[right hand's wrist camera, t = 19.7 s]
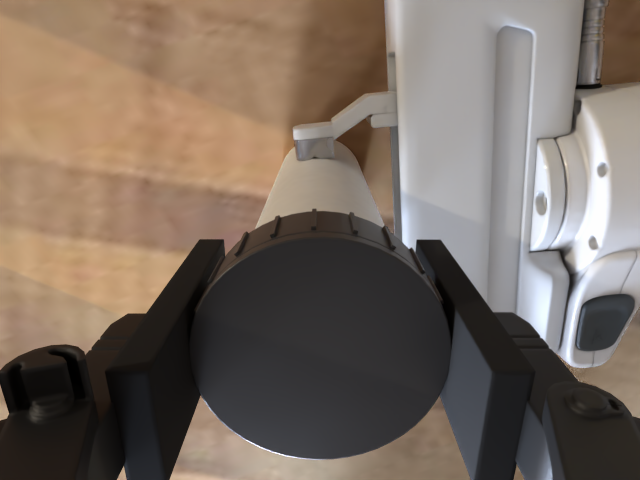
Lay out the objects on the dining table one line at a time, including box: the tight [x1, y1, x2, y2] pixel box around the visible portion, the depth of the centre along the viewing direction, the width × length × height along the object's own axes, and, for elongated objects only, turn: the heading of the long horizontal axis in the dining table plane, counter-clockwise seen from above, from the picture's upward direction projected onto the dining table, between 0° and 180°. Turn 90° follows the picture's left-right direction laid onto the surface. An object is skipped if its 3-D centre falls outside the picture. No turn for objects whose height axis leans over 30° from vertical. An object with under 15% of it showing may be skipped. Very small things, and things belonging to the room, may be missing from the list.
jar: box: [255, 140, 384, 229], centre depth 19 cm, size 5×5×18 cm
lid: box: [189, 209, 452, 460], centre depth 11 cm, size 6×6×2 cm
